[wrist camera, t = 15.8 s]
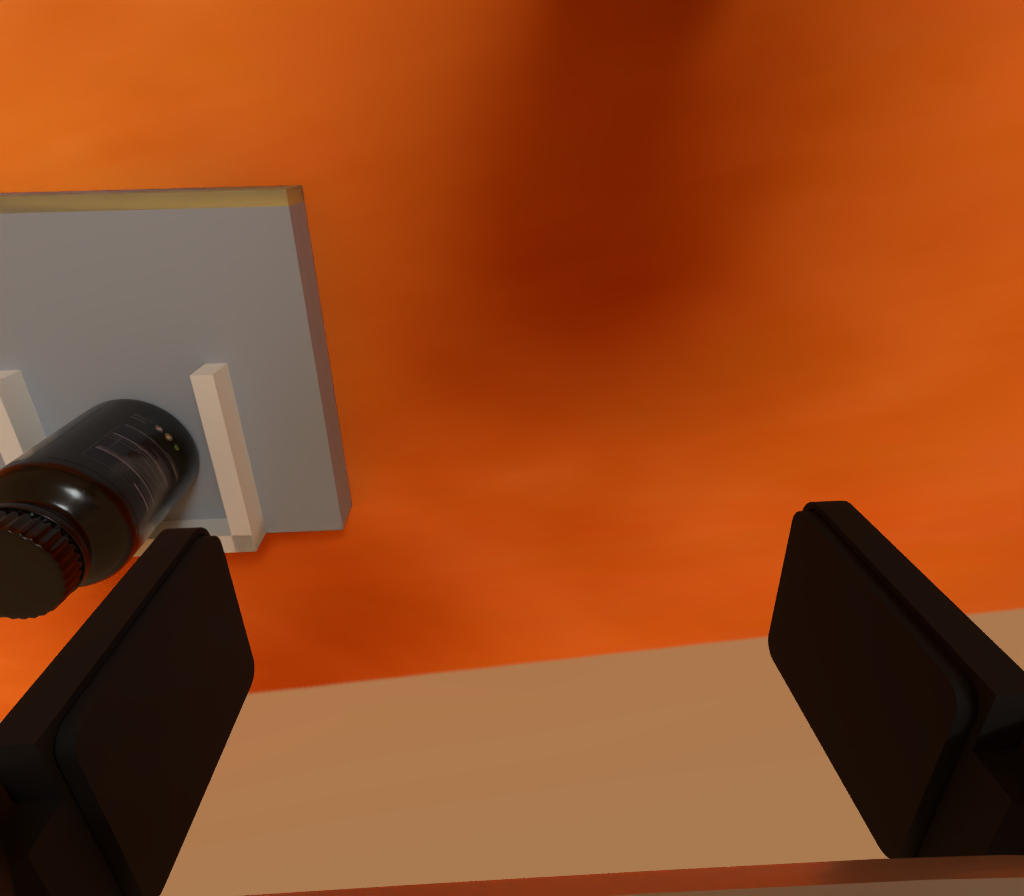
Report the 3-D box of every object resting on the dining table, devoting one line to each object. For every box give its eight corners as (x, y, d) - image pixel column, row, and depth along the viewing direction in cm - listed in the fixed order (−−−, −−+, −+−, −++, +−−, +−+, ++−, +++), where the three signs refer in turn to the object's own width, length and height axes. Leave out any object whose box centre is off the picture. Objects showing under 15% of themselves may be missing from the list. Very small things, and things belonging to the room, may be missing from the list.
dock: (-120, 196, 33) (-216, 203, 28) (301, 185, 33) (273, 191, 29) (20, 518, 41) (-37, 563, 37) (351, 505, 42) (336, 547, 37)
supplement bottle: (144, 517, 38) (11, 663, 27) (54, 433, 36) (-132, 557, 25) (228, 464, 37) (124, 594, 26) (142, 372, 34) (-15, 474, 23)
